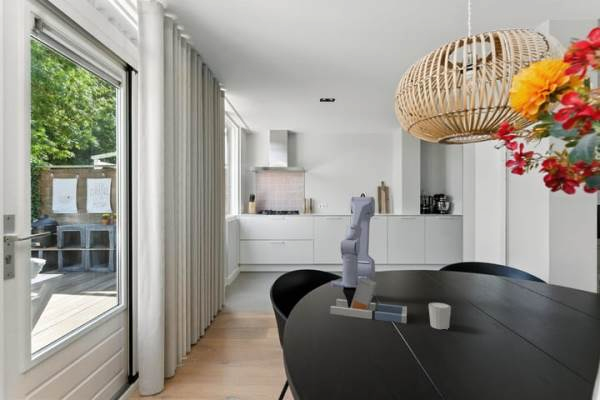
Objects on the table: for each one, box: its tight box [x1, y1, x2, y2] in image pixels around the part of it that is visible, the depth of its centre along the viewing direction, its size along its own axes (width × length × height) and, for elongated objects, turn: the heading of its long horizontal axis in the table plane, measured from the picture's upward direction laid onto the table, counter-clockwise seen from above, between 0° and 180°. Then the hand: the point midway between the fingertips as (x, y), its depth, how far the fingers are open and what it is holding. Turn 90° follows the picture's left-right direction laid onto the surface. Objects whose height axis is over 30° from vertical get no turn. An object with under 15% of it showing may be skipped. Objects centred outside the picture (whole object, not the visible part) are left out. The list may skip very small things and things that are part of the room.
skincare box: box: [350, 277, 378, 310], centre depth 116 cm, size 6×4×12 cm
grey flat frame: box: [329, 298, 408, 324], centre depth 116 cm, size 11×26×2 cm, turn 70°
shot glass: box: [428, 301, 452, 330], centre depth 104 cm, size 7×7×7 cm
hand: (349, 307), depth 118 cm, fingers closed
